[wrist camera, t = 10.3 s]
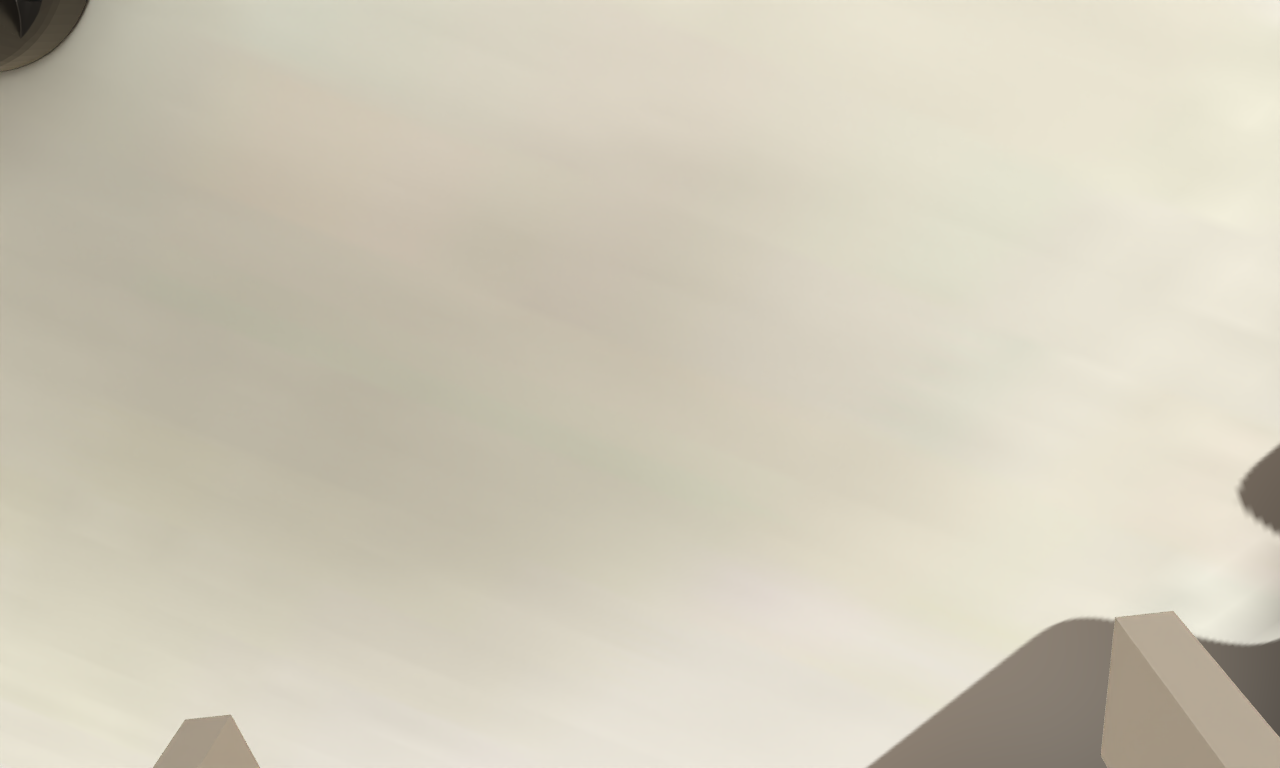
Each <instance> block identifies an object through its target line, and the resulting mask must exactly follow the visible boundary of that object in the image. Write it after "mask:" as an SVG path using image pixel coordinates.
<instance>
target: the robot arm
mask: <svg viewBox="0 0 1280 768" xmlns="http://www.w3.org/2000/svg"><path fill="white" fill-rule="evenodd" d="M86 1H87V0H0V72H1V71H8V70H12V69H16V68H19V67H22V66H25V65H27V64H30V63H32V62H34V61H36V60H38V59H40V58H41V57H43V56H45V55H46V54H47V53H49V52H50V51H51V50H53V49H54V48H55V47H56V46H57V45H58V44H60V43H61V42H62V41H63V39H64V38H65V37H66V36H67V35H68V34H69V32H70V31H71V30H72V28H73V27H74V25H75V24H76V22H77V20H78V19H79V17H80V15H81V13H82V11H83V9H84V6H85V4H86ZM1101 757H1102V758H1103V760H1104V762H1105V763H1106V765H1107V767H1108V768H1280V738H1279V736H1278V735H1277V734H1276V733H1275V732H1274V731H1273V729H1272V728H1271V727H1270V726H1269V725H1268V724H1267V722H1266V721H1265V720H1264V719H1263V717H1262V716H1261V715H1260V714H1259V713H1258V711H1257V710H1256V709H1255V708H1254V707H1253V705H1252V704H1251V703H1250V702H1249V701H1248V699H1247V698H1246V697H1245V696H1244V695H1243V694H1242V692H1241V691H1240V690H1239V689H1238V688H1237V686H1236V685H1235V684H1234V683H1233V682H1232V680H1231V679H1230V678H1229V677H1228V676H1227V674H1226V673H1225V672H1224V671H1223V670H1222V668H1221V667H1220V666H1219V665H1218V664H1217V663H1216V661H1215V660H1214V659H1213V658H1212V657H1211V655H1210V654H1209V653H1208V652H1207V651H1206V650H1205V648H1204V647H1203V646H1202V645H1201V643H1200V642H1199V641H1198V640H1197V639H1196V637H1195V636H1194V635H1193V634H1192V633H1191V632H1190V630H1189V629H1188V628H1187V627H1186V626H1185V624H1184V623H1183V622H1182V621H1181V620H1180V618H1179V617H1178V616H1177V615H1176V614H1175V612H1174V611H1169V612H1160V613H1151V614H1142V615H1133V616H1124V617H1115V624H1114V634H1113V643H1112V653H1111V663H1110V672H1109V682H1108V692H1107V701H1106V711H1105V720H1104V730H1103V739H1102V748H1101ZM153 768H260V767H259V765H258V763H257V761H256V760H255V758H254V756H253V754H252V752H251V751H250V749H249V747H248V745H247V743H246V741H245V740H244V738H243V736H242V734H241V732H240V730H239V729H238V727H237V725H236V723H235V721H234V719H233V718H232V716H231V715H224V716H215V717H206V718H197V719H188V720H185V721H184V722H183V724H182V725H181V727H180V728H179V730H178V731H177V733H176V734H175V736H174V737H173V739H172V740H171V742H170V743H169V745H168V746H167V748H166V749H165V751H164V752H163V754H162V755H161V756H160V758H159V759H158V761H157V762H156V764H155V765H154V767H153Z"/></svg>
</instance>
